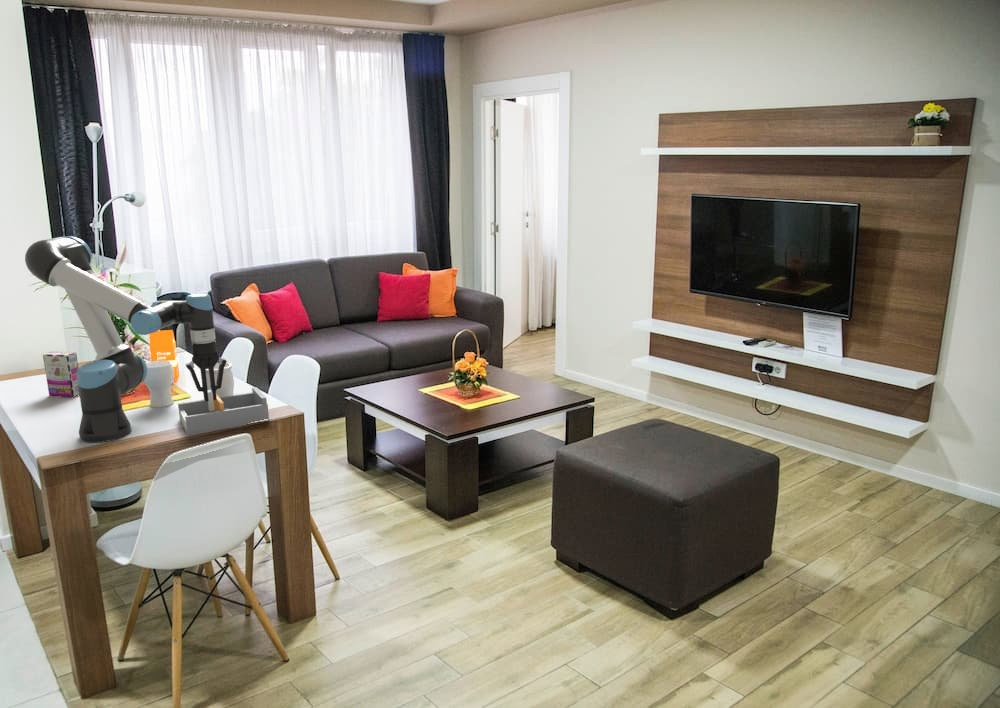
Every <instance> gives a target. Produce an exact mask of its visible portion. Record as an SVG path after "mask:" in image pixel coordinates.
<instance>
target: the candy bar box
mask: <svg viewBox="0 0 1000 708" xmlns="http://www.w3.org/2000/svg"><path fill="white" fill-rule="evenodd" d="M77 355H78V353H77V352H72V351H70V352H69V351H68V352H67V351H48V352H46V353H44V354H42V358H43V363H44V364H43V365H44V370H45V377H46V378H45V379H46V383H47V389H48V396H49V397H55V396H61V397H60V398H72V397H74V398H77V397H79V396H80V395H79V388H78V384H77V371H78V369H79V368H80V367H79V362H78V357H77ZM78 395H79V396H78ZM76 396H77V397H76Z"/></svg>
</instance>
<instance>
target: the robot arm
mask: <svg viewBox="0 0 1000 708" xmlns="http://www.w3.org/2000/svg"><path fill="white" fill-rule="evenodd" d="M25 252H26V253H25V255H24V256H25V257H24V262H25V265H26V267H27V269H28V271H29V272H30V274H32V276H34V277H35V278H37V279H38V280H39V281H40V280H41V281H42V282H43V283H46V284H47V285H50V286H51V287H60V288H62V289H64V292H66V294H67V296H68V297H67V298H68V299H69V301H70V303H71V305H72V307H73V309H74V310H75V313H76V315H77V316H78V319H79V321H80V323H81V324H82V327H83V329H84V331H85V332H86V334H87V337H88V339H89V341H90V342H91V344H92V346H93V349H94V351H95V353H96V356H95V359H94V361H92V362H91V361H90V362H87V363H85V364H83V365H81V366H80V367H79V369H78V371H77V384H78V388H79V401H80V407H81V412H82V413H81V414H82V415H81V420H80V425H79V429H78V436H79V439H80V440H81V441H82V442H86V443H101V442H102V441H104V442H109V441H108V440H110V441H114V439H115V440H117V438H118V439H121V438H124V437H126V436H128V435H129V434H131V432H132V426H131V425H132V424H131V423H130V421H129V418H128V417H127V415H126V413H125V411H124V408H123V405H122V404H123V403H122V397H121V395H124V394H126V393H127V392H129V391H132V390H135V389H137V387H139V386H140V385H141V384H142V383H144V379H145V377H146V375H147V366H146V363H147V362H145V360H144V358H143V357H142V356H141V355H139V354H137V353H136V352H133V349H132V348H131V346H130V345H128V344H125V343H124V342H123V340H122V338H121V336H120V335H119V332H118V330H117V328H116V326H115V324H114V322H113V320H112V318H111V316H110V314H112V315H114V316H116V317H118V318H120V319H122V320H124V321H126V322H127V323H129V324H130V326H131V328H132V329H133V331H134V332H136V333H137V334H139V335H142V336H148V335H149V334H151V333H155V332H157V331H161V330H163V329H165V328H167V327H169V326H173V325H178V324H180V325H181V324H182V325H183V324H185V325H186V324H188V325H189V331H190V333H189V334H190V340H191V348H192V357H191V361H189V362H186V363H185V367H186V368H187V369H188V370H189V372H190V375H191V377H192V380H193V382H194V384H195V387H196V389H197V391H198V392H202V393H203V400H205V401H208V408H209V410H210V411H215V410H214V401H213V400H216V399H217V397H216V390H217V389H220V388H221V385H222V378H223V371H224V366H225V364H226V363H228V362H227V360H226V359H225V358H222V357H220V355H219V354H218V348H217V341H216V332H215V321H214V311H213V309H214V307H213V303H212V297H211V296H210V294H208V293H193V294H192V293H191V294H188V295H187V296H186V297H185V298H186V299H185V300H166V299H163V300H155V301H153V302H152V304H151V305H148V303H145V302H143V301H142V300H139V299H137V298H136V297H133V296H132V295H130V294H128V293H126V292H124V291H122V290H121V289H119V288H117V287H114V286H113V285H111V284H109V283H107V282H105V281H103V280H101V279H100V278H97V277H95V275H92V274H93V268H92V266H91V264H92V259H93V253H92V251H91V248H90V247H89V245H88V243H86V242H85V241H84V240H83V239H81V238H78V237H76V236H72V235H71V236H70V235H68V236H66V235H64V236H63V235H62V236H59V237H53V238H49V239H48V238H47V239H42V240H38V241H34V242H33V243H32V244H31V245H30V246H29V247H28V248H27V250H26V251H25ZM216 363H219V369H218V376H217V383H216V385H215V378H214V366H215V365H216ZM195 366H197V368H198V369H199V370H200V378H201V384H202V385H201V384H200V381H199V379H198V377H197V373H196V371H195V369H194V368H195ZM206 369H209V377H210V385H211V390H208V389H207V380H206ZM125 435H126V436H125ZM123 436H124V437H123ZM120 437H121V438H120Z"/></svg>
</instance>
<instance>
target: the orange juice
mask: <svg viewBox="0 0 1000 708" xmlns="http://www.w3.org/2000/svg"><path fill="white" fill-rule="evenodd" d="M148 335H149V339H148V340H149V353H150V352H151V354H150V362H154V361H170V362H171V364H172V366H173V369H174V379H173V382H178V380H179V378H180V370H179V369H180V367H179V363H178V362H179V360H178V353H177V345H176V344H177V343H176V340H175V335H174V331H173V329H168V330H167V329H165V330H163V329H162V330H158V331H157V332H155V333H151V334H148Z"/></svg>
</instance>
